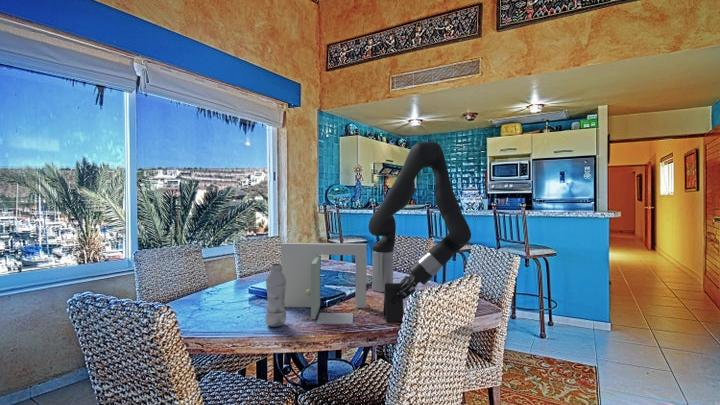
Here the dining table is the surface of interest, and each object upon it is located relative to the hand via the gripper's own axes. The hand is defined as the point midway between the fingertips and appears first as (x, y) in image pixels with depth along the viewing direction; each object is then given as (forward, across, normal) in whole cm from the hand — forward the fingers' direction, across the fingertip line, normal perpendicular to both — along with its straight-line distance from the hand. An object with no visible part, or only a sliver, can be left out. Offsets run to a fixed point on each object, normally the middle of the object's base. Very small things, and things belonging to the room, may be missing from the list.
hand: (390, 301), depth 133 cm
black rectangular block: (+3, 0, +5) cm, 6 cm away
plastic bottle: (+31, +9, -23) cm, 39 cm away
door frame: (+21, -2, -13) cm, 25 cm away
